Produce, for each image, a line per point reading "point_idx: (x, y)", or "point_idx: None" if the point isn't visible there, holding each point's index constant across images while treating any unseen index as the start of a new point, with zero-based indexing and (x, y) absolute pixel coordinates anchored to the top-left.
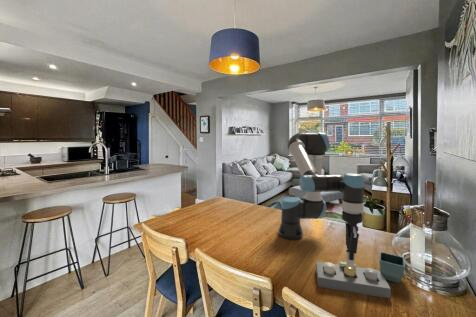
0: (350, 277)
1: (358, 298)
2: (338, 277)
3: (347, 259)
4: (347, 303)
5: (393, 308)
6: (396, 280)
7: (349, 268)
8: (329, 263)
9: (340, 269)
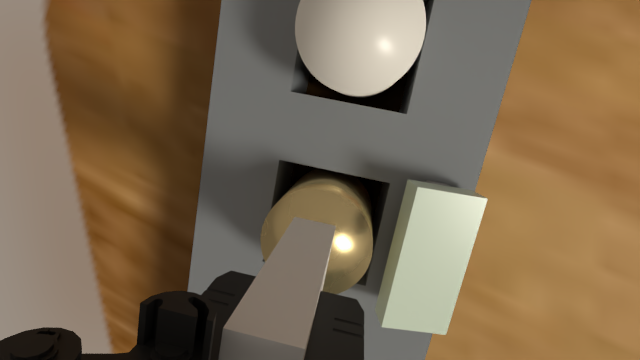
0: (266, 205)
1: (178, 189)
2: (256, 96)
3: (274, 252)
4: (122, 99)
5: (132, 337)
6: None
7: None
8: (396, 38)
9: (384, 164)
